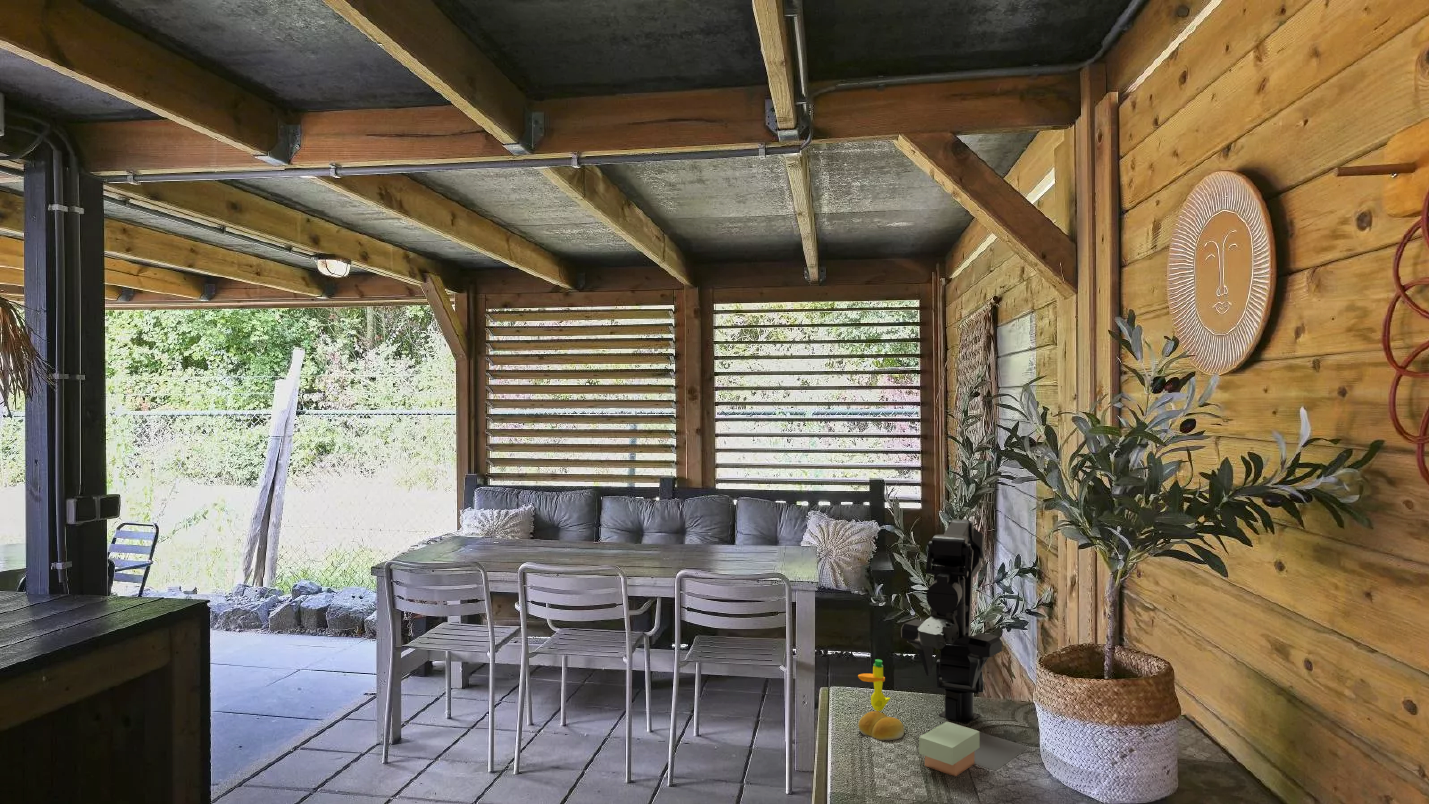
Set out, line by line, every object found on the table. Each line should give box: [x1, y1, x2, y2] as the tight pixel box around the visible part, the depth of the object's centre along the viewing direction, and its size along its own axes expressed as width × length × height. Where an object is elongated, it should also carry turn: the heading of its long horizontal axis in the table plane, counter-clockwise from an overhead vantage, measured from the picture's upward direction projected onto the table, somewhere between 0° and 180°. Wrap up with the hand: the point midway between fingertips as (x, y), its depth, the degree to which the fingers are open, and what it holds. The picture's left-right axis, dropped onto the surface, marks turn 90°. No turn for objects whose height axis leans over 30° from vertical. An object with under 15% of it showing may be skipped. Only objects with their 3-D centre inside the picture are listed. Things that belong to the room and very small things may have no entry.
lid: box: [918, 721, 980, 765], centre depth 143 cm, size 10×6×3 cm, turn 135°
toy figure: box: [857, 658, 891, 712], centre depth 167 cm, size 7×4×12 cm, turn 76°
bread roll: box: [857, 710, 905, 741], centre depth 159 cm, size 8×9×4 cm
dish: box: [924, 752, 975, 777], centre depth 143 cm, size 7×6×3 cm
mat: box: [974, 731, 1030, 772], centre depth 149 cm, size 14×10×1 cm
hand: (950, 681), depth 154 cm, fingers open, 9 cm apart
